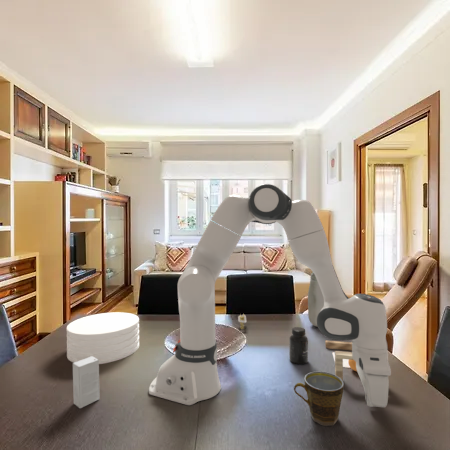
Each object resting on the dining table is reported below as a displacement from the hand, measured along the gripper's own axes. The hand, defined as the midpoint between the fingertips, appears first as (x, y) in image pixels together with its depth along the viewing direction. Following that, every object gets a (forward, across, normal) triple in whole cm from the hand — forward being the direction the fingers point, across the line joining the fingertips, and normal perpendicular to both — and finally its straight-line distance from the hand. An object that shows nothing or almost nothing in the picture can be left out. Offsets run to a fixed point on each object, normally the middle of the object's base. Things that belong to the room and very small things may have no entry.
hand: (369, 403), depth 83 cm
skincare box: (+2, +14, -80) cm, 81 cm away
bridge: (+2, -14, 0) cm, 14 cm away
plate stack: (+2, -20, -98) cm, 100 cm away
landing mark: (+2, -30, 0) cm, 30 cm away
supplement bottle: (+2, -26, -19) cm, 32 cm away
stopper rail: (+2, -41, 0) cm, 41 cm away
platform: (+2, -58, -46) cm, 74 cm away
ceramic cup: (+2, +7, -14) cm, 16 cm away
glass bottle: (+2, -67, -9) cm, 68 cm away
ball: (-1, -22, +1) cm, 22 cm away
